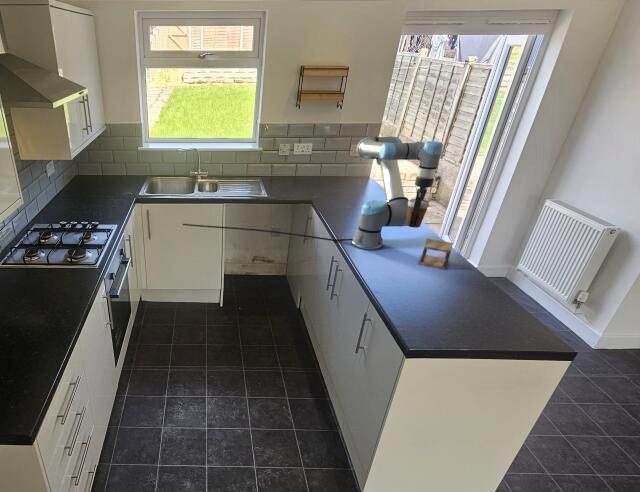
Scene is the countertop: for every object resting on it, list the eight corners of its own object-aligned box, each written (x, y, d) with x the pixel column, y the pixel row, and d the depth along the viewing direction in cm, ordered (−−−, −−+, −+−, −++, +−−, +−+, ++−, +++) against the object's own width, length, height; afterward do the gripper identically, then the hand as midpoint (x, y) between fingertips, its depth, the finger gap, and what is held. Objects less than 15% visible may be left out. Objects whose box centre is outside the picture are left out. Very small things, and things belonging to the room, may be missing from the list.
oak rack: (419, 264, 213) (424, 246, 209) (422, 256, 222) (427, 238, 217) (445, 269, 208) (451, 250, 203) (447, 260, 217) (452, 242, 212)
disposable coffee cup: (411, 229, 207) (417, 205, 201) (398, 223, 215) (403, 199, 209) (428, 227, 209) (434, 203, 203) (414, 221, 217) (420, 197, 211)
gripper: (431, 183, 191) (418, 232, 203) (436, 173, 207) (424, 219, 218) (413, 181, 195) (401, 229, 206) (419, 171, 210) (408, 217, 222)
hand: (413, 224), depth 212 cm, fingers closed on disposable coffee cup, 8 cm apart
